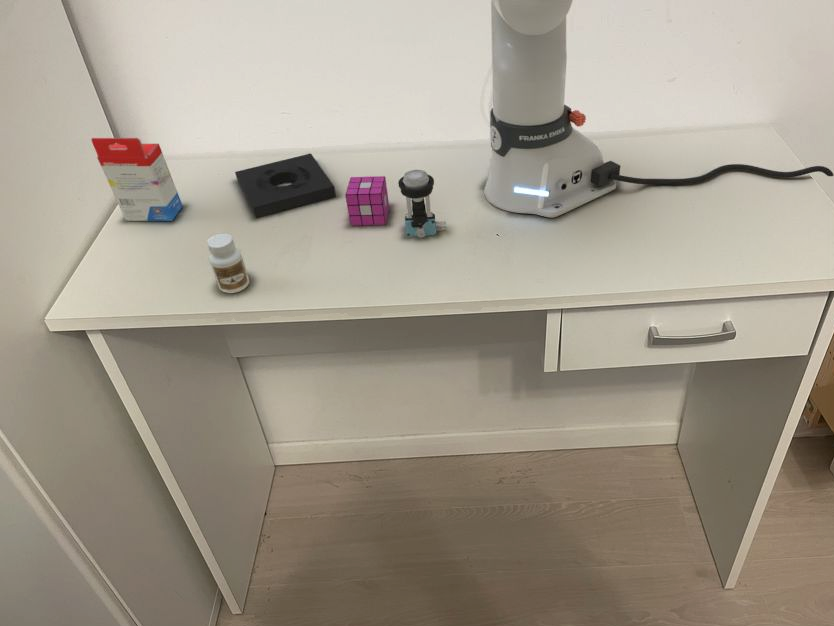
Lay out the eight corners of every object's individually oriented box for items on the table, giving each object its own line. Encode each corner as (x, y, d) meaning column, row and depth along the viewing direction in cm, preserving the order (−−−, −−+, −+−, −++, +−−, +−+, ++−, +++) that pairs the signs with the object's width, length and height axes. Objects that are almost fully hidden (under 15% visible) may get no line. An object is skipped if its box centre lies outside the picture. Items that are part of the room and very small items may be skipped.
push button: (446, 222, 110) (441, 165, 104) (447, 240, 106) (442, 182, 100) (404, 224, 110) (397, 168, 104) (404, 243, 106) (397, 185, 100)
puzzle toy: (350, 226, 111) (345, 194, 107) (355, 207, 115) (350, 176, 111) (385, 225, 110) (381, 193, 107) (389, 206, 115) (385, 175, 111)
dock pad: (313, 163, 127) (310, 153, 126) (336, 196, 118) (334, 186, 117) (237, 181, 123) (234, 171, 122) (255, 218, 114) (252, 207, 112)
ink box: (184, 206, 117) (154, 124, 108) (172, 222, 114) (140, 139, 104) (137, 206, 118) (103, 124, 108) (123, 221, 115) (87, 138, 105)
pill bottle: (223, 297, 98) (207, 252, 93) (216, 281, 101) (200, 237, 96) (253, 288, 99) (239, 243, 94) (245, 272, 102) (231, 228, 97)
